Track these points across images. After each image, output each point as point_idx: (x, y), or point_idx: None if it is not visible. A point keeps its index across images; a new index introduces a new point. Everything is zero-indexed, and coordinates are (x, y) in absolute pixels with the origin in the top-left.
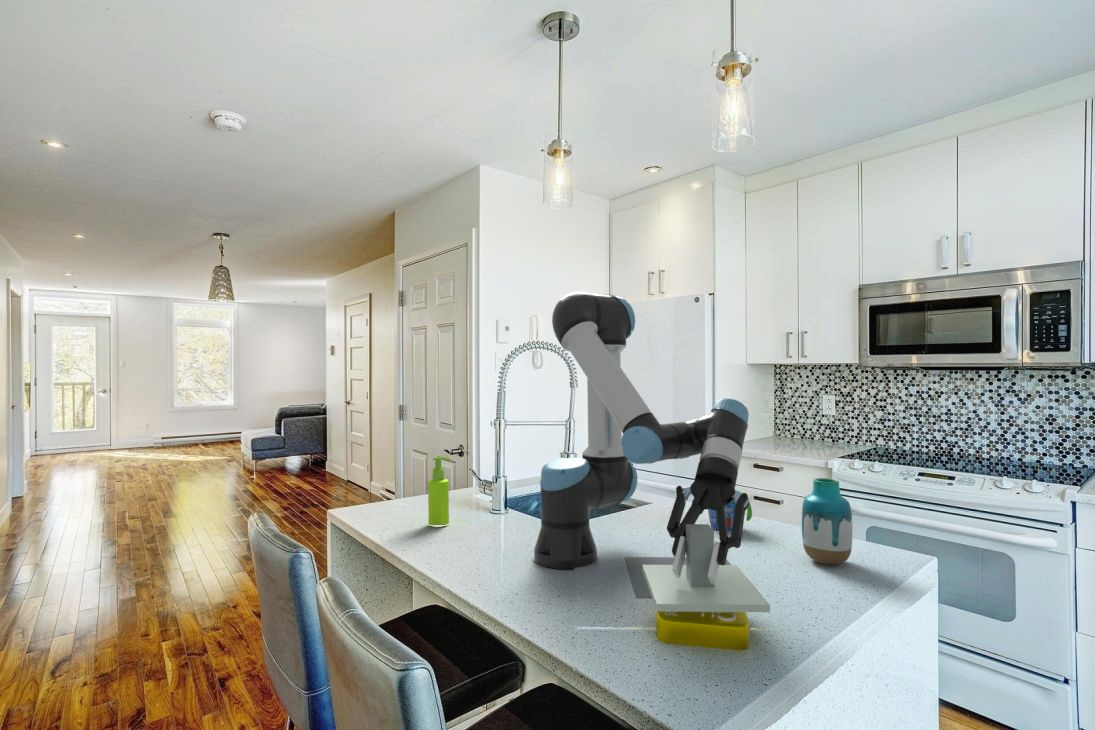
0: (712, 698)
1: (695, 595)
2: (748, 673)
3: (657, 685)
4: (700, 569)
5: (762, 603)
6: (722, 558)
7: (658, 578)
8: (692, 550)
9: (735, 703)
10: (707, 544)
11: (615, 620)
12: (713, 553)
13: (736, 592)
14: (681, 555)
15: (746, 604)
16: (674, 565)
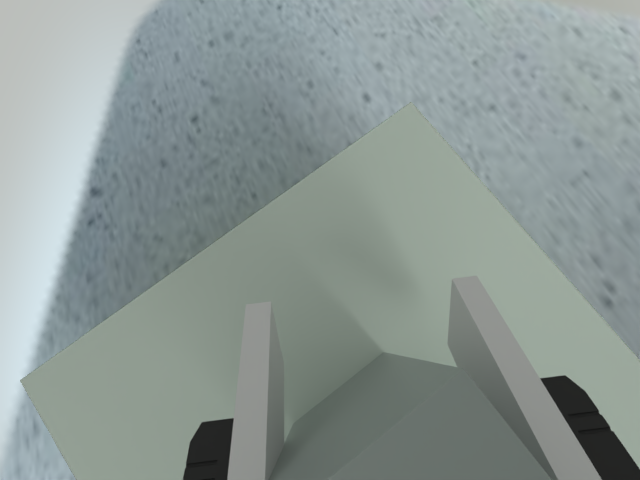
0: (184, 66)
1: (325, 274)
2: (143, 215)
3: (307, 38)
4: (351, 389)
5: (51, 374)
6: (201, 442)
7: (565, 356)
8: (407, 367)
9: (135, 78)
10: (309, 456)
11: (600, 262)
12: (257, 426)
13: (183, 426)
14: (492, 383)
15: (108, 317)
16: (478, 293)
